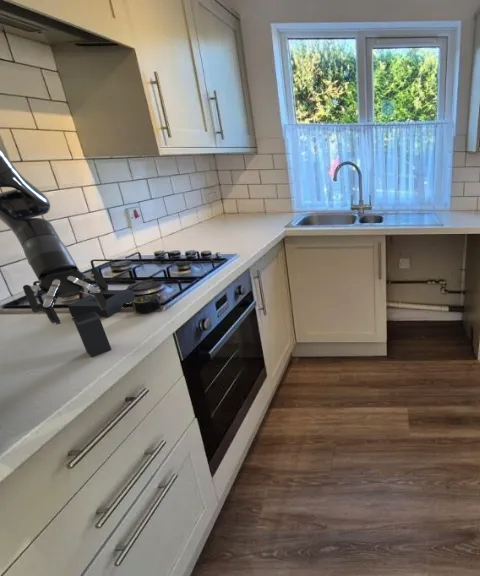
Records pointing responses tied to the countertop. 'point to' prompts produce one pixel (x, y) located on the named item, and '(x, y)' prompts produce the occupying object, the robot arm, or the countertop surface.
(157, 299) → the tape measure
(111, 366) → the countertop surface
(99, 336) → the pad post
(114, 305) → the base pad
